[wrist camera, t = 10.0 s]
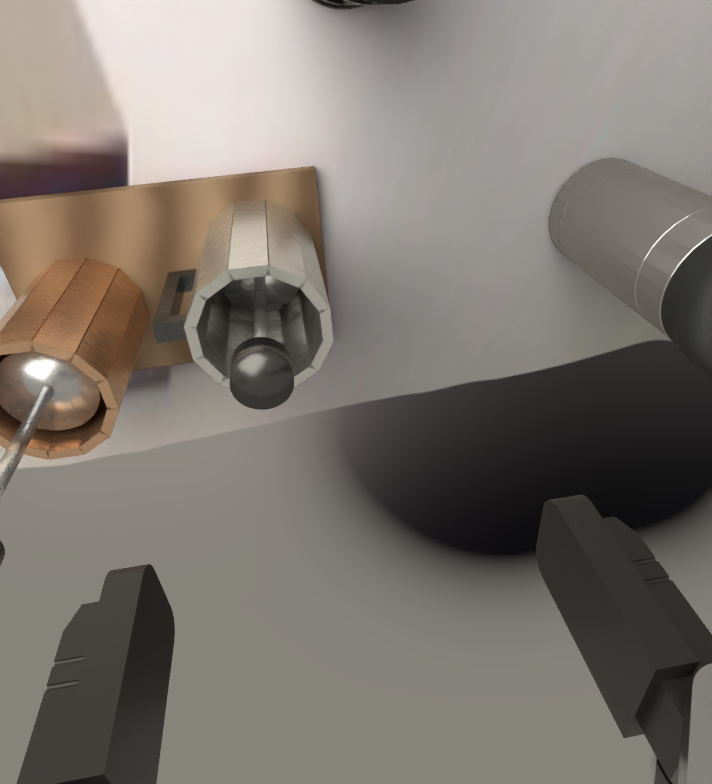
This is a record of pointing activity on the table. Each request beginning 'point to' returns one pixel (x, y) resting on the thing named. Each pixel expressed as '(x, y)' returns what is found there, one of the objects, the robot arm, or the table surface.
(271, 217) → the steel carafe
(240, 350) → the steel plunger
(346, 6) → the french press
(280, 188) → the board
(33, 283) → the copper carafe
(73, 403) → the black knob plunger
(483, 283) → the table surface
